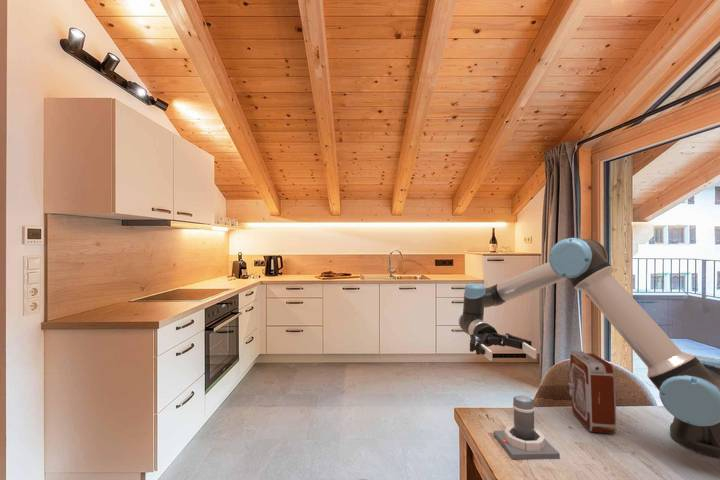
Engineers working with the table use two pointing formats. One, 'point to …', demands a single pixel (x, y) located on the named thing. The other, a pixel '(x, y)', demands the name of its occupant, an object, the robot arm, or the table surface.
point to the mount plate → (526, 445)
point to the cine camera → (593, 392)
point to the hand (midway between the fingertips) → (513, 355)
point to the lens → (524, 418)
